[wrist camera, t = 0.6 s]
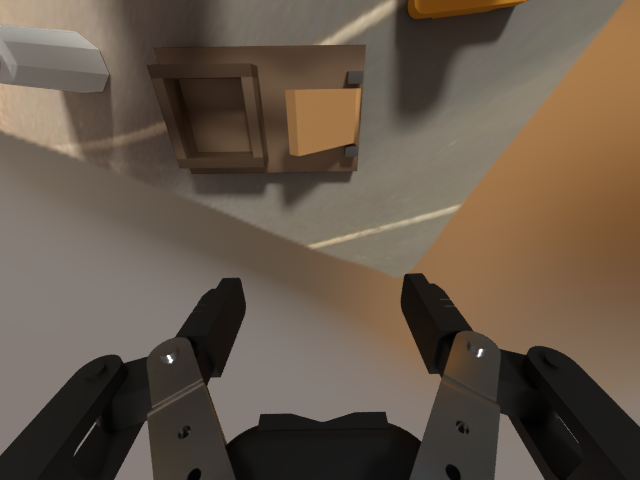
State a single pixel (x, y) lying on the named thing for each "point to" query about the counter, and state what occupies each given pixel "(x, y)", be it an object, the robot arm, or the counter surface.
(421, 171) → the counter surface
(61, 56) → the salt shaker
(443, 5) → the bracket
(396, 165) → the counter surface
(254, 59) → the brown open tray piece
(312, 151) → the tan flat block
